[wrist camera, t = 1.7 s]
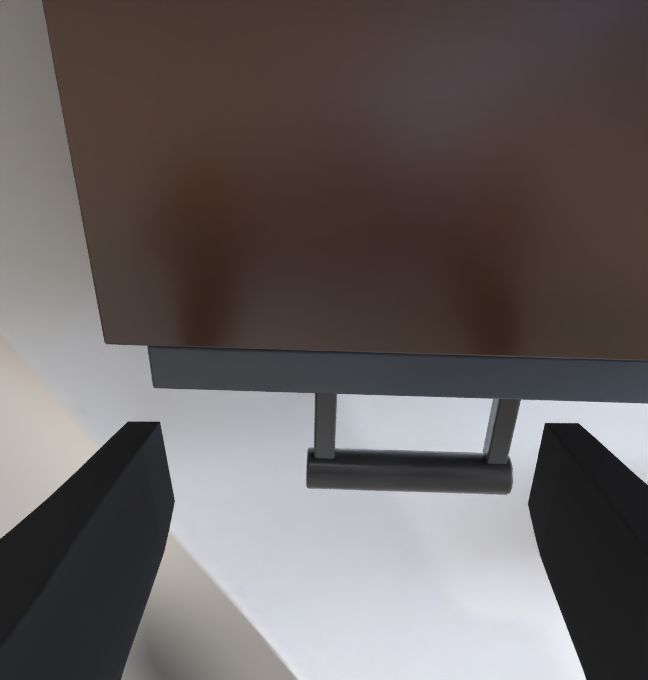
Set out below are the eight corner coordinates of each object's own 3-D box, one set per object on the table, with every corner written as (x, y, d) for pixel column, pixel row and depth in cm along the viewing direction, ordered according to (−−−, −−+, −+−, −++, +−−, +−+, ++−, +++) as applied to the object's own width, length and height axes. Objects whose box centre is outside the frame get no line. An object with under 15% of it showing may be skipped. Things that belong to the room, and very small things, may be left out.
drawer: (583, 419, 22) (653, 548, 17) (210, 407, 22) (173, 532, 17) (792, -290, 13) (1079, -459, 8) (147, -305, 13) (26, -482, 8)
